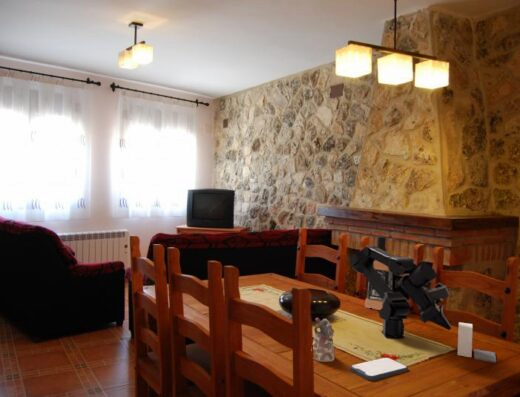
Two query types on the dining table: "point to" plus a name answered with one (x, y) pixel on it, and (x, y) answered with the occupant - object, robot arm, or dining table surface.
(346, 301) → the dining table surface
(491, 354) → the rubber mat
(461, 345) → the white rectangular block
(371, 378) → the phone case
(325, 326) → the figurine
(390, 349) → the dining table surface
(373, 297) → the whiskey bottle
